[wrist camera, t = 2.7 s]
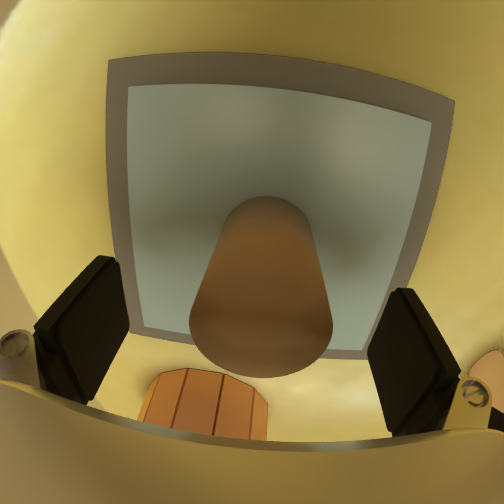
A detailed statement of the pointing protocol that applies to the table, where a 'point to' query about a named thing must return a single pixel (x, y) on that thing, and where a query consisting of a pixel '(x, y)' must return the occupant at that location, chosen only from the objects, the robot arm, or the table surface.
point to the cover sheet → (275, 159)
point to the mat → (281, 77)
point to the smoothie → (491, 376)
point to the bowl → (205, 405)
